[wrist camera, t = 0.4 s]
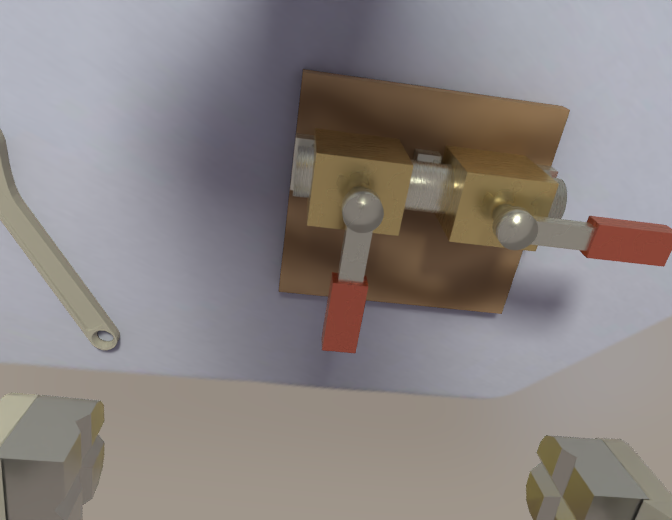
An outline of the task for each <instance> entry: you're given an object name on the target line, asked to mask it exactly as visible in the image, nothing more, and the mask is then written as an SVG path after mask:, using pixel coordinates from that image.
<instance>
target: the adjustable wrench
mask: <svg viewBox="0 0 672 520" xmlns="http://www.w3.org/2000/svg"><path fill="white" fill-rule="evenodd" d="M0 220H1V221H2V223H3V224H4V225H5V227H6V228H7V230H8V231H9V232H10V234H11V235H12V236H13V238H14V239H15V240H16V242H17V243H18V244H19V246H20V247H21V249H22V250H23V251H24V253H25V254H26V255H27V257H28V258H29V259H30V261H31V262H32V263H33V265H34V266H35V268H36V269H37V270H38V272H39V273H40V274H41V276H42V277H43V278H44V280H45V281H46V282H47V284H48V285H49V287H50V288H51V289H52V291H53V292H54V293H55V295H56V296H57V297H58V299H59V300H60V301H61V303H62V304H63V306H64V307H65V308H66V310H67V311H68V312H69V314H70V315H71V316H72V318H73V319H74V320H75V322H76V323H77V324H78V326H79V327H80V329H81V330H82V331H83V333H84V334H85V335H86V337H87V338H88V339H89V341H90V342H91V343H92V345H93V346H94V347H96V348H98V349H101V350H110V349H112V348H114V347H115V346H116V344H117V342H118V340H119V337H120V332H119V330H118V329H117V327H116V326H115V325H114V323H113V322H112V321H111V319H110V318H109V316H108V315H107V314H106V312H105V311H104V310H103V308H102V307H101V306H100V304H99V303H98V301H97V300H96V299H95V297H94V296H93V295H92V293H91V292H90V291H89V289H88V288H87V287H86V285H85V284H84V282H83V281H82V280H81V278H80V277H79V276H78V274H77V273H76V272H75V270H74V269H73V267H72V266H71V265H70V263H69V262H68V261H67V259H66V258H65V257H64V255H63V254H62V252H61V251H60V250H59V248H58V247H57V246H56V244H55V243H54V242H53V240H52V239H51V237H50V236H49V235H48V233H47V232H46V231H45V229H44V228H43V227H42V225H41V224H40V222H39V221H38V220H37V218H36V217H35V216H34V214H33V213H32V212H31V210H30V209H29V208H28V206H27V205H26V203H25V202H24V201H23V199H22V197H21V196H20V194H19V192H18V190H17V188H16V185H15V182H14V179H13V175H12V172H11V168H10V164H9V158H8V152H7V146H6V140H5V137H4V135H3V133H2V131H1V129H0ZM98 331H107V332H109V333H111V334H112V335H113V337H114V339H113V340H112V341H104V340H102V339H100V338H99V337H98V335H97V332H98Z"/></svg>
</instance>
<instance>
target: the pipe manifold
mask: <svg viewBox="0 0 672 520" xmlns="http://www.w3.org/2000/svg"><path fill="white" fill-rule="evenodd" d="M441 160H442V163H441ZM557 174H558V171H557V170H555V169H554V168H553V167H551V166H545V165H538V164H535V163H534V162H532V161H531V160H530V159H529V158H528V157H526V156H523V155H515V154H508V153H500V152H492V151H485V150H477V149H470V148H462V147H455V146H447V145H446V147H445V151H444V155H443V159H442V156H441V154H440V153H439V152H438V151H430V150H423V149H415V152H414V157H413V160H411V159H410V158H409V156H408V154H407V152H406V151H405V149H404V147H403V145H402V143H401V142H400V140H399V139H394V138H386V137H379V136H371V135H364V134H356V133H348V132H341V131H333V130H326V129H318V128H315V135H308V134H300V133H296V139H295V148H294V157H293V166H292V175H291V185H290V190H293V196H296V197H304V198H307V226H315V227H324V228H333V229H342V230H345V227H346V224H345V223H344V220H343V216H342V208H341V206H342V201H343V199H344V197H345V196H346V194H347V193H348V192H350V191H351V190H353V189H356V188H369V189H371V190H373V191H374V192H376V193H377V195H378V196H379V198H380V200H381V203H382V206H383V210H384V217H383V220H382V222H381V224H380V225H379V226H378V227H377V228H376V229H374V230H373V233H377V234H386V235H395V236H398V235H399V231H400V226H401V221H402V217H403V212H404V209H406V210H414V211H423V212H431V213H434V214H435V216H436V218H437V219H438V221H439V223H440V225H441V227H442V229H443V231H444V233H445V235H446V237H447V238H448V240H449V242H457V243H466V244H475V245H484V246H493V247H502V248H507V249H510V250H528V251H536V249H537V246H538V245H539V246H548V247H557V248H566V249H574V250H580V252H581V253H582V254H583V255H584V256H585V257H586V258H593V259H602V260H611V261H620V262H629V263H638V264H647V265H656V266H665V263H666V261H667V259H668V257H669V255H670V253H671V251H672V229H671V228H670V227H668V226H667V225H661V224H653V223H645V222H636V221H628V220H620V219H612V218H603V217H595V216H589V218H588V220H587V222H581V221H573V220H564V219H561V218H562V216H563V213H564V211H565V207H566V202H567V189H566V185H565V183H564V181H563V180H562V179H559V178H556V177H557Z"/></svg>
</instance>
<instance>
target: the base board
mask: <svg viewBox="0 0 672 520" xmlns="http://www.w3.org/2000/svg"><path fill="white" fill-rule="evenodd" d="M569 112H570V110H569V109H567V108H565V107H563V106H557V105H550V104H543V103H536V102H529V101H522V100H515V99H508V98H501V97H494V96H487V95H480V94H473V93H466V92H459V91H452V90H445V89H438V88H431V87H424V86H417V85H410V84H403V83H396V82H389V81H382V80H375V79H368V78H361V77H354V76H347V75H340V74H333V73H326V72H319V71H312V70H305V69H303V74H302V83H301V93H300V102H299V111H298V120H297V129H296V133H300V134H308V135H315V128H318V129H326V130H333V131H341V132H348V133H356V134H364V135H371V136H379V137H386V138H394V139H399V140H400V142H401V143H402V145H403V147H404V149H405V151H406V152H407V154H408V156H409V158H410V159H411V160H413V157H414V152H415V149H423V150H430V151H438V152H439V153H440V154H441V156H442V159H443V155H444V151H445V147H446V145H447V146H455V147H462V148H470V149H477V150H485V151H492V152H500V153H508V154H515V155H523V156H526V157H528V158H529V159H530V160H531V161H532V162H534V163H535V164H538V165H545V166H551V165H552V162H553V159H554V156H555V153H556V150H557V147H558V144H559V141H560V138H561V135H562V133H563V130H564V127H565V124H566V121H567V118H568V115H569ZM295 139H296V138H295ZM294 148H295V147H294ZM293 157H294V156H293ZM441 163H442V160H441ZM292 166H293V165H292ZM291 175H292V174H291ZM290 185H291V183H290ZM344 233H345V230H342V229H333V228H324V227H315V226H307V198H304V197H296V196H293V190H290V192H289V201H288V210H287V220H286V229H285V238H284V247H283V256H282V265H281V274H280V283H279V292H287V293H297V294H307V295H317V296H328V295H329V288H330V282H331V276H332V272H334V273H338V269H339V263H340V257H341V251H342V245H343V239H344ZM522 252H523V250H510V249H507V248H502V247H493V246H484V245H475V244H466V243H457V242H449V240H448V238H447V237H446V235H445V233H444V231H443V229H442V227H441V225H440V223H439V221H438V219H437V218H436V216H435V214H434V213H431V212H423V211H414V210H406V209H404V212H403V217H402V221H401V226H400V231H399V235H398V236H395V235H386V234H377V233H372V238H371V243H370V248H369V254H368V259H367V264H366V269H365V275H364V276H367V282H368V292H367V297H366V300H368V301H378V302H388V303H398V304H408V305H418V306H428V307H438V308H448V309H458V310H468V311H479V312H489V313H499V314H502V311H503V308H504V305H505V302H506V299H507V296H508V293H509V290H510V287H511V284H512V281H513V278H514V275H515V272H516V269H517V266H518V263H519V260H520V258H521V255H522Z"/></svg>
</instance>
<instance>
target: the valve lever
mask: <svg viewBox="0 0 672 520" xmlns="http://www.w3.org/2000/svg"><path fill="white" fill-rule="evenodd" d="M341 208H342V216H343V220H344V223H345V224H346V227H345V233H344V239H343V245H342V251H341V257H340V263H339V269H338V273H334V272H332V276H331V282H330V288H329V295H328V301H327V307H326V313H325V320H324V326H323V332H322V350H325V351H336V352H347V353H356V347H357V342H358V337H359V332H360V327H361V322H362V317H363V312H364V307H365V302H366V297H367V292H368V282H367V276H364V275H365V269H366V264H367V259H368V254H369V248H370V243H371V238H372V233H373V230H374V229H376V228H377V227H378V226H379V225H380V224H381V222H382V220H383V217H384V210H383V206H382V203H381V200H380V198H379V196H378V195H377V193H376V192H374V191H373V190H371V189H369V188H356V189H353V190H351V191H350V192H348V193H347V194H346V196H345V197H344V199H343V201H342V206H341Z"/></svg>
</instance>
